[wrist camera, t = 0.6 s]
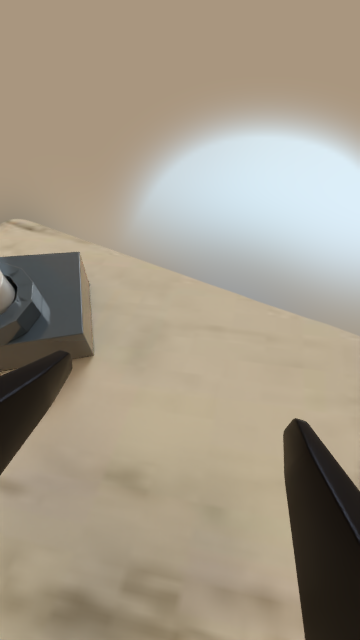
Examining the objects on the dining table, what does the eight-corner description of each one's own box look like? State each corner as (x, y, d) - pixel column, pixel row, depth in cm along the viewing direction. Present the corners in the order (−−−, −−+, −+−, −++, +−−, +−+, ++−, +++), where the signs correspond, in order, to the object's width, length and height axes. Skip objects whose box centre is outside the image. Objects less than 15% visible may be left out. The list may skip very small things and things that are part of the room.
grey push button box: (94, 357, 24) (77, 323, 18) (-71, 385, 20) (-158, 354, 15) (89, 282, 29) (74, 235, 23) (-45, 295, 25) (-103, 244, 19)
